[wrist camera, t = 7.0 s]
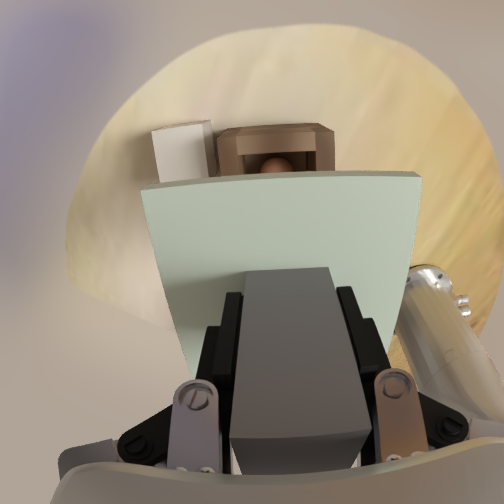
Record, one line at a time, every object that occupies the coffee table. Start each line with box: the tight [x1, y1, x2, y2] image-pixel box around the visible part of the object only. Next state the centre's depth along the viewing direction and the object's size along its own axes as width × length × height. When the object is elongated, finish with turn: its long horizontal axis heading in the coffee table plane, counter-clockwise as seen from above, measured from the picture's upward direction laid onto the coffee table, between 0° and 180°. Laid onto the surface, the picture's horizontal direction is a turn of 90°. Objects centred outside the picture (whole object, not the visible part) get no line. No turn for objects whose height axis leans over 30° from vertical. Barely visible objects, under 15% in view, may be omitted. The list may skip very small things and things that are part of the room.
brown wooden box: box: [216, 123, 335, 176], centre depth 29 cm, size 10×10×8 cm
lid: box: [140, 171, 422, 475], centre depth 10 cm, size 10×10×8 cm
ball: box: [260, 157, 294, 174], centre depth 30 cm, size 3×3×3 cm
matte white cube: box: [151, 120, 217, 183], centre depth 30 cm, size 5×6×5 cm
